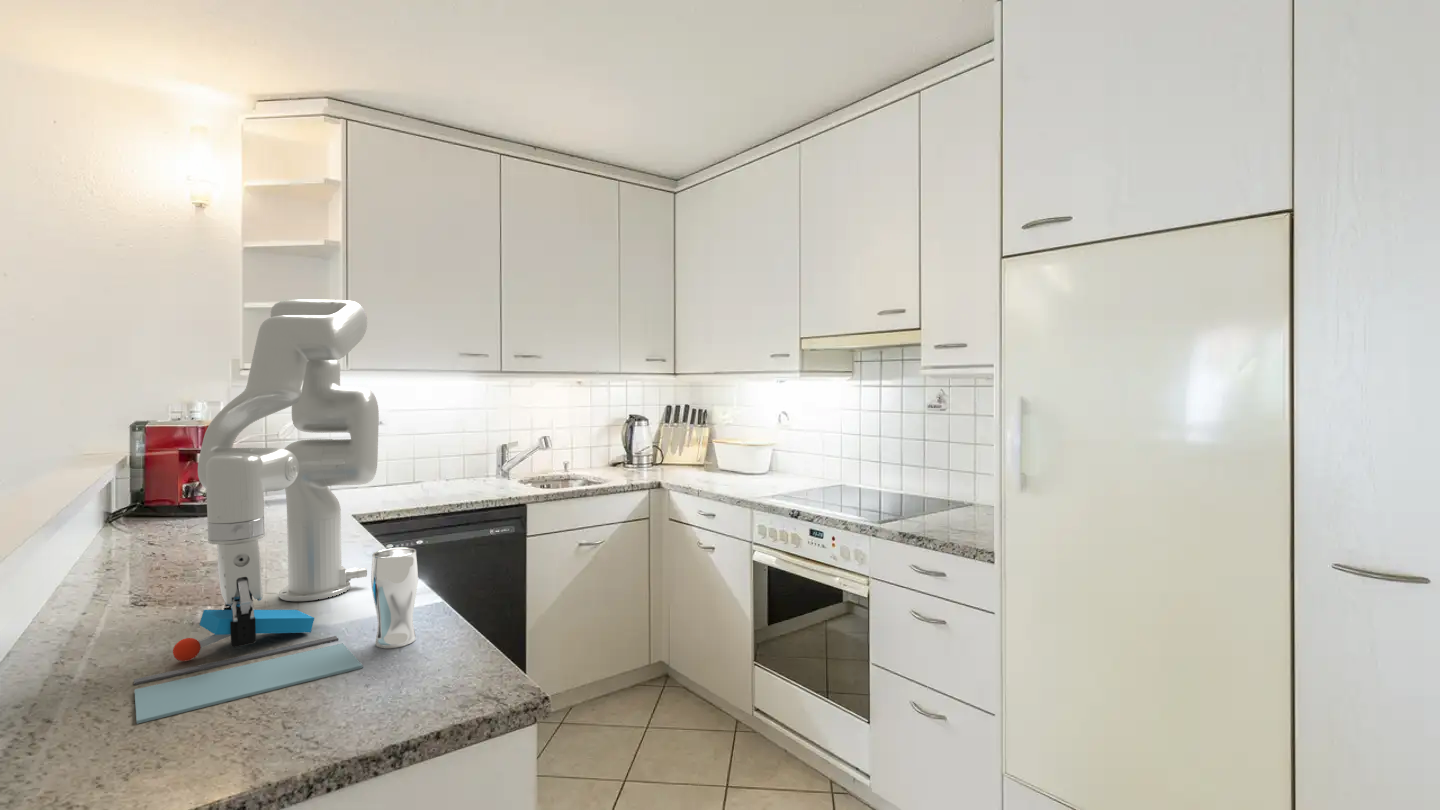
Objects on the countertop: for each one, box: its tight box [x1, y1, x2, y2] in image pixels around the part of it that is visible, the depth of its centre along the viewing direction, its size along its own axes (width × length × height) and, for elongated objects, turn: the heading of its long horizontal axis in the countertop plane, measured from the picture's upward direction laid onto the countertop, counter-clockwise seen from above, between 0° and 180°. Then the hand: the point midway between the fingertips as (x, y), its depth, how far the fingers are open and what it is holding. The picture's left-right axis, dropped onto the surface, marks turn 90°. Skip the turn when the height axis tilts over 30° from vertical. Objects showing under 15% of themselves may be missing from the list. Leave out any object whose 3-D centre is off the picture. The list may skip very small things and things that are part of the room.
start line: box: [133, 635, 339, 686], centre depth 107 cm, size 26×2×1 cm, turn 131°
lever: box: [172, 609, 315, 662], centre depth 112 cm, size 7×7×18 cm
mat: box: [134, 643, 364, 725], centre depth 100 cm, size 26×12×1 cm, turn 131°
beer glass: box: [370, 547, 419, 649], centre depth 114 cm, size 7×7×15 cm
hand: (239, 636), depth 112 cm, fingers closed on lever, 7 cm apart
